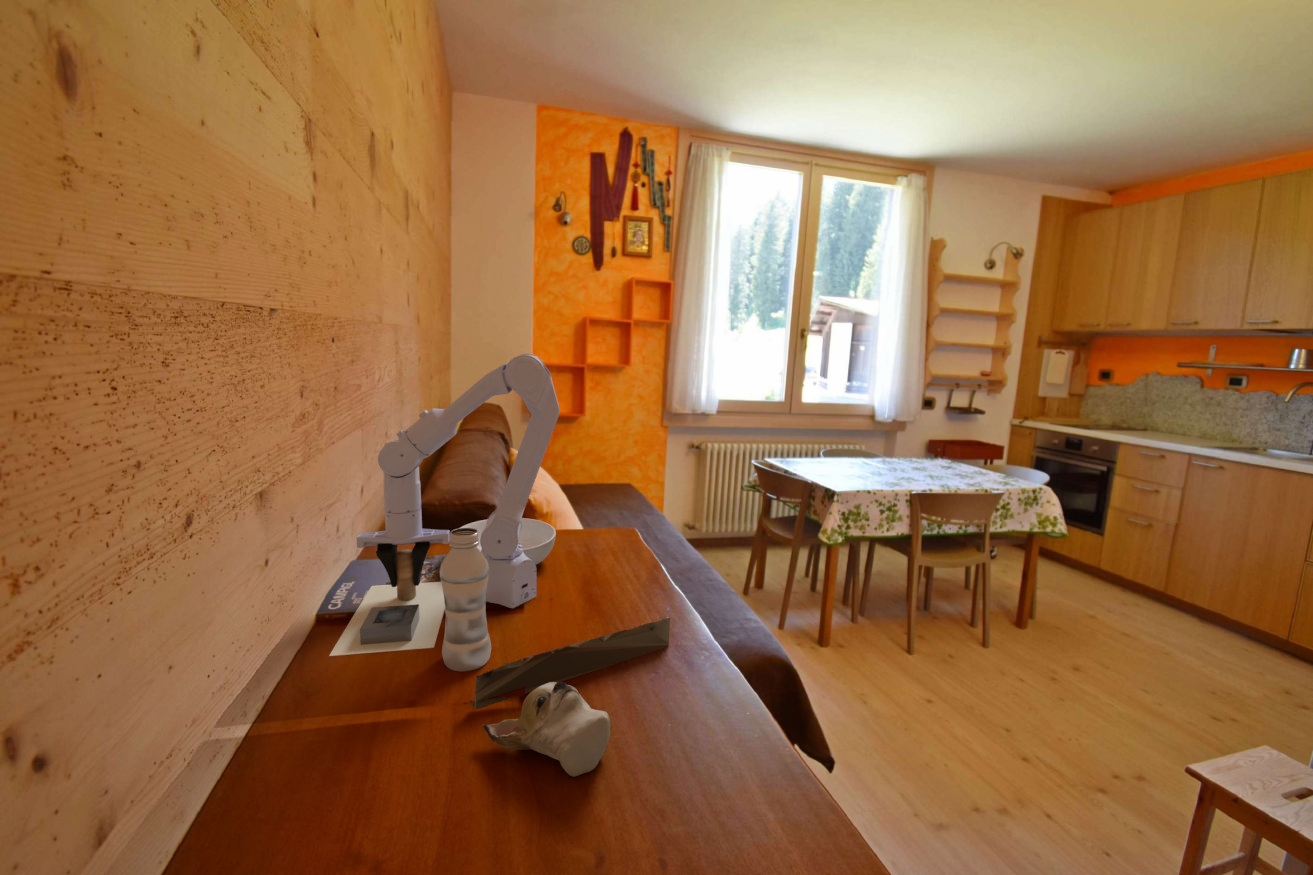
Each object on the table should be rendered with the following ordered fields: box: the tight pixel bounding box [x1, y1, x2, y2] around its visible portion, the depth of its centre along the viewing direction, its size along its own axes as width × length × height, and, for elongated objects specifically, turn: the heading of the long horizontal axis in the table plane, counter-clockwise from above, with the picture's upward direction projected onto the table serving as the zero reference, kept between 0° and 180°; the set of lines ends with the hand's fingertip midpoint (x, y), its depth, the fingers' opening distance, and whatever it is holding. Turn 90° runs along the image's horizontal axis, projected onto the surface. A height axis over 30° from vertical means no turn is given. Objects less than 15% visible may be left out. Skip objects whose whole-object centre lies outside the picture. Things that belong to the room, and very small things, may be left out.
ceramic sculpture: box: [482, 681, 611, 777], centre depth 65 cm, size 11×9×15 cm
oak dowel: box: [395, 548, 416, 600], centre depth 99 cm, size 3×3×8 cm
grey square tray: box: [360, 604, 420, 645], centre depth 88 cm, size 7×7×2 cm
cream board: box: [328, 581, 445, 657], centre depth 94 cm, size 24×14×1 cm, turn 13°
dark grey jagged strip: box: [472, 616, 671, 710], centre depth 81 cm, size 30×1×5 cm, turn 124°
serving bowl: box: [459, 517, 557, 566], centre depth 118 cm, size 21×21×7 cm
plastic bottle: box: [439, 527, 492, 672], centre depth 80 cm, size 6×7×20 cm
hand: (406, 584), depth 99 cm, fingers closed on oak dowel, 3 cm apart
